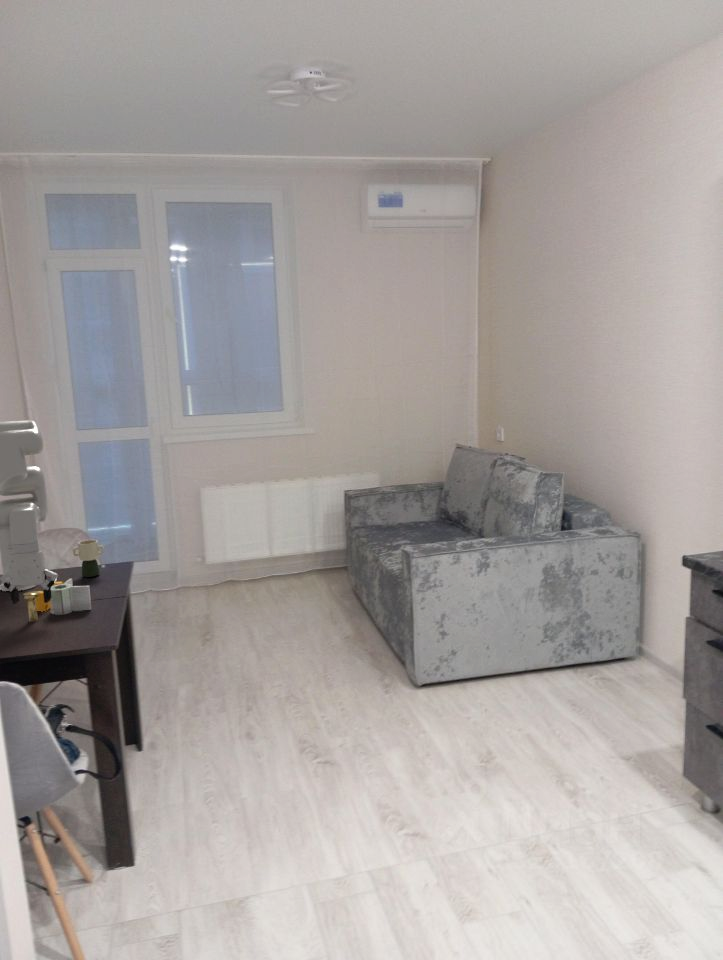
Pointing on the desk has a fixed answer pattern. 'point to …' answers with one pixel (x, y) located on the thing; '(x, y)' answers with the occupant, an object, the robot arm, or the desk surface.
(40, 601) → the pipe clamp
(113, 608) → the desk surface
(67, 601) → the hinge
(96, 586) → the desk surface
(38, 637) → the desk surface
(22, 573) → the robot arm
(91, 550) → the character mug
